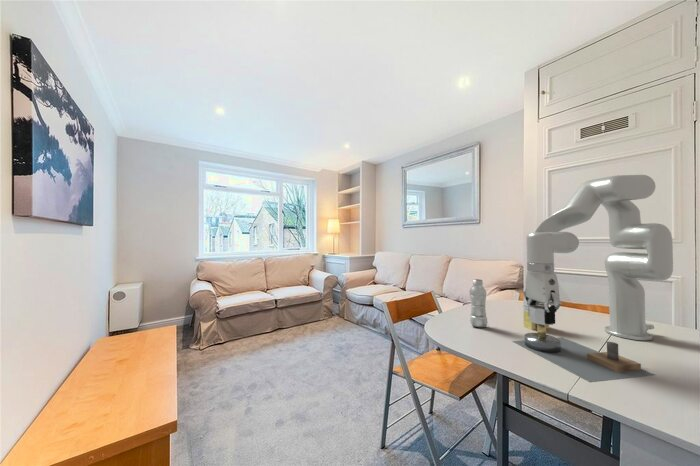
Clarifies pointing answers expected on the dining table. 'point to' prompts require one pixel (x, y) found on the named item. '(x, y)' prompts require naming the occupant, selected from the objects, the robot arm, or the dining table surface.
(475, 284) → the plastic bottle
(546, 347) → the hub
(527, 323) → the candy box
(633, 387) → the dining table surface
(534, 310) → the collar
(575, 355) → the mat
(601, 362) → the stand
